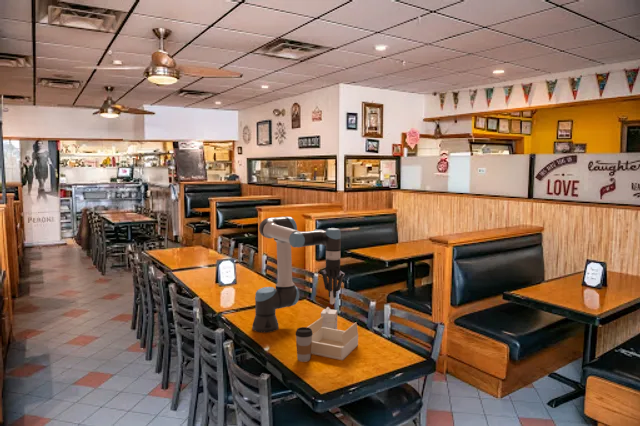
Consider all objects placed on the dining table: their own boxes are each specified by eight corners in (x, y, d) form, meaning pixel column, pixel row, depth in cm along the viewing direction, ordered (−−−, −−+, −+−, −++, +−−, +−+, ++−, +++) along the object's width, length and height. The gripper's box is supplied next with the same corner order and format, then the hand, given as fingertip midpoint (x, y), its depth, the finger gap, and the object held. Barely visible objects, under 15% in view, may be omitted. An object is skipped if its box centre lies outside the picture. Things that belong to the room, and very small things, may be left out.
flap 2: (341, 334, 223) (342, 334, 223) (355, 322, 240) (356, 322, 240) (343, 346, 223) (343, 346, 223) (357, 333, 241) (357, 333, 240)
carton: (303, 352, 232) (303, 340, 231) (322, 338, 251) (322, 326, 251) (342, 360, 222) (342, 348, 222) (358, 345, 242) (358, 333, 242)
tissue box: (334, 334, 258) (335, 311, 256) (320, 333, 259) (320, 310, 258) (337, 329, 266) (337, 306, 265) (323, 327, 268) (323, 305, 266)
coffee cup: (295, 355, 228) (295, 326, 226) (311, 355, 228) (312, 326, 227) (295, 363, 219) (295, 333, 218) (312, 362, 220) (313, 332, 218)
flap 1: (323, 316, 248) (322, 316, 249) (307, 327, 231) (306, 327, 231) (321, 327, 249) (321, 327, 250) (305, 339, 232) (304, 338, 232)
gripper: (318, 258, 232) (317, 303, 234) (342, 261, 226) (341, 307, 228) (324, 256, 238) (324, 299, 241) (347, 258, 233) (346, 303, 235)
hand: (332, 303), depth 234 cm, fingers closed
